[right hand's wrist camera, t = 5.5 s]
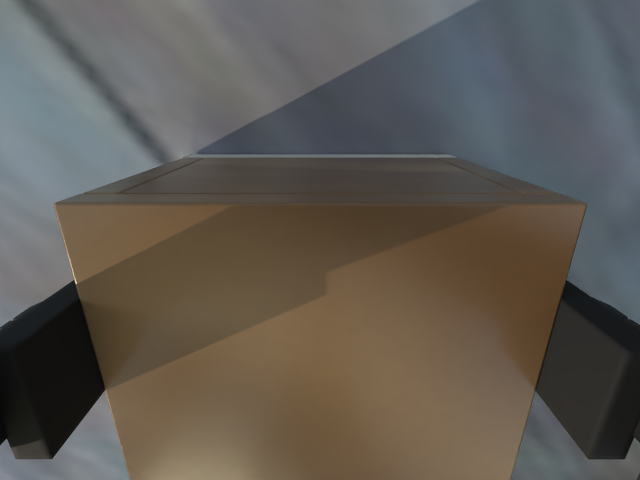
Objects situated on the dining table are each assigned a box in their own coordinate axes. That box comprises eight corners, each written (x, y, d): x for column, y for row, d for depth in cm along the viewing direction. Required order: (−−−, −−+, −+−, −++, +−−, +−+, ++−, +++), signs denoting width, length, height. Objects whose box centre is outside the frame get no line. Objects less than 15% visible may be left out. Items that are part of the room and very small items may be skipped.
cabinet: (408, 475, 22) (456, 677, 14) (232, 475, 22) (183, 677, 14) (449, 154, 15) (589, 202, 7) (191, 154, 15) (50, 202, 7)
